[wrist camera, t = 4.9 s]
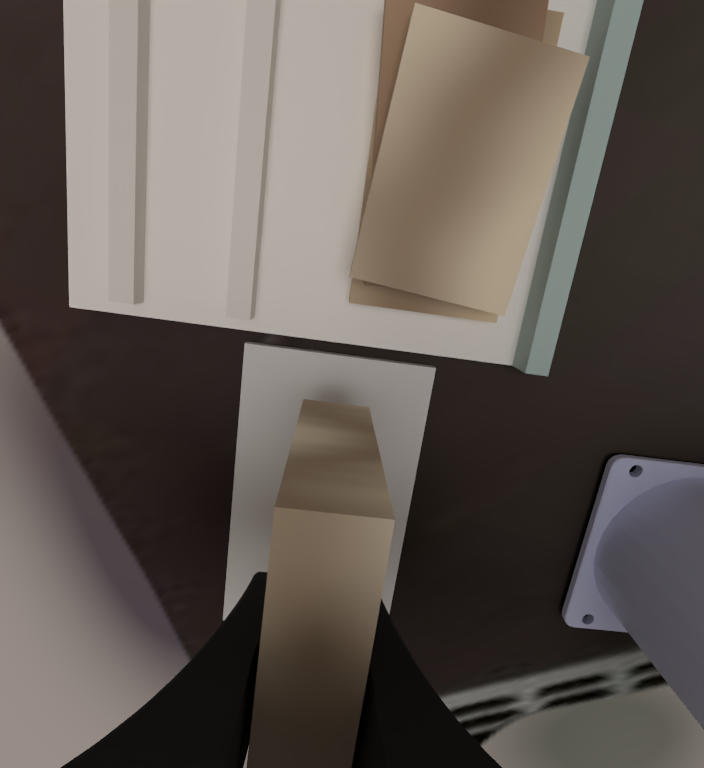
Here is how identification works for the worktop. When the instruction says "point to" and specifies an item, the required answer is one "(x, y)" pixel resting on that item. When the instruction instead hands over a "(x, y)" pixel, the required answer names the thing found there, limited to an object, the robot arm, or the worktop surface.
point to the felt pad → (277, 427)
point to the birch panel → (321, 591)
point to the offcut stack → (460, 152)
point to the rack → (286, 171)
